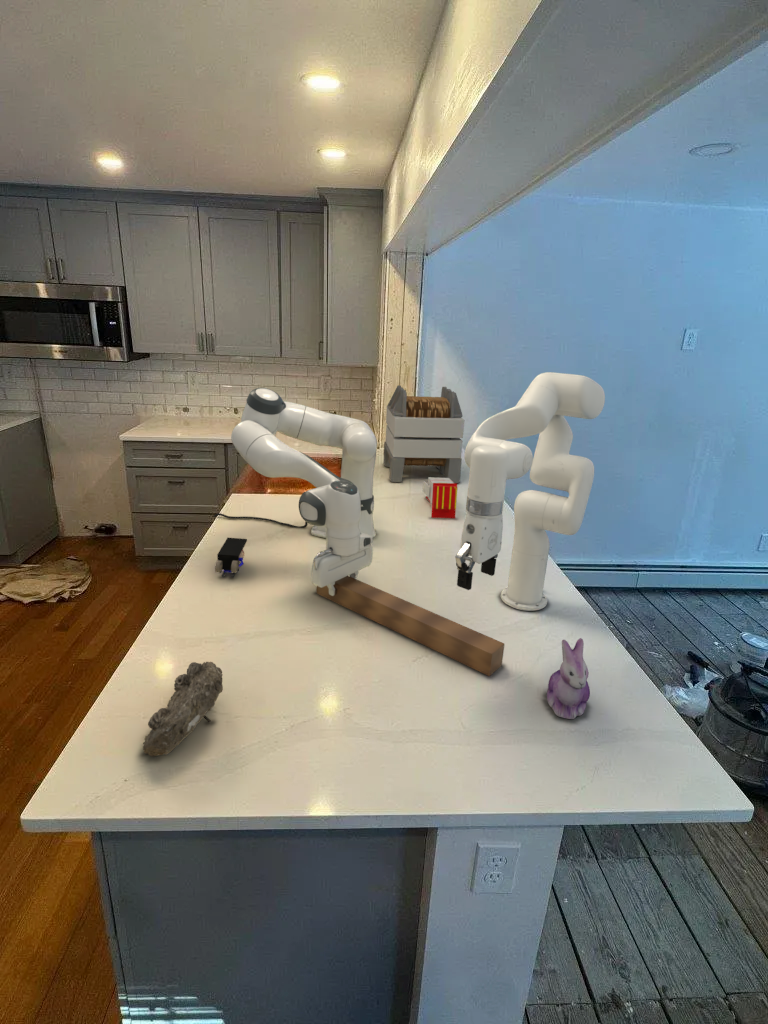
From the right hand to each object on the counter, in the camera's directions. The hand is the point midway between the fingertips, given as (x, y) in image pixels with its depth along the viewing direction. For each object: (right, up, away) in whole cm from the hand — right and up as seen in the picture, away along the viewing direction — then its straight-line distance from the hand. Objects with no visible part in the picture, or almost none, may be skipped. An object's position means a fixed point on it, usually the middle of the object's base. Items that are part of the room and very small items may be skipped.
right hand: (475, 580), depth 123 cm
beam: (-16, -14, +19) cm, 28 cm away
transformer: (-3, +34, +152) cm, 156 cm away
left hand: (-31, -6, +30) cm, 44 cm away
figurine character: (-65, -2, +44) cm, 79 cm away
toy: (+2, +17, +106) cm, 107 cm away
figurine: (+17, -25, -8) cm, 31 cm away
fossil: (-57, -24, -16) cm, 64 cm away
